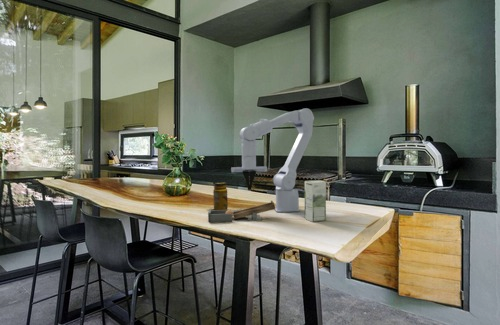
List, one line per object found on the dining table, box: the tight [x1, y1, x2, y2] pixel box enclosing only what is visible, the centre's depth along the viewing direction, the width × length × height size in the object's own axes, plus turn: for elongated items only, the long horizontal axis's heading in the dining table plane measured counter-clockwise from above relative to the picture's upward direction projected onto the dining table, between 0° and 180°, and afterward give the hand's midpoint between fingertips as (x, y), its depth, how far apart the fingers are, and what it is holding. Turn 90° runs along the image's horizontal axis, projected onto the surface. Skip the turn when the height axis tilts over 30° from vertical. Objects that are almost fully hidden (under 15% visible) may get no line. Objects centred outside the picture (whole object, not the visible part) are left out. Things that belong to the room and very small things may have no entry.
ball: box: [225, 209, 234, 217], centre depth 121 cm, size 3×3×3 cm
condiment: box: [206, 182, 230, 212], centre depth 138 cm, size 7×8×12 cm
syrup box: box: [304, 179, 327, 223], centre depth 116 cm, size 6×6×14 cm
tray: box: [207, 208, 233, 223], centre depth 121 cm, size 8×8×4 cm
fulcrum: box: [246, 212, 263, 221], centre depth 122 cm, size 5×8×3 cm, turn 4°
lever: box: [232, 200, 276, 220], centre depth 125 cm, size 16×12×2 cm
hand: (249, 189), depth 129 cm, fingers closed
